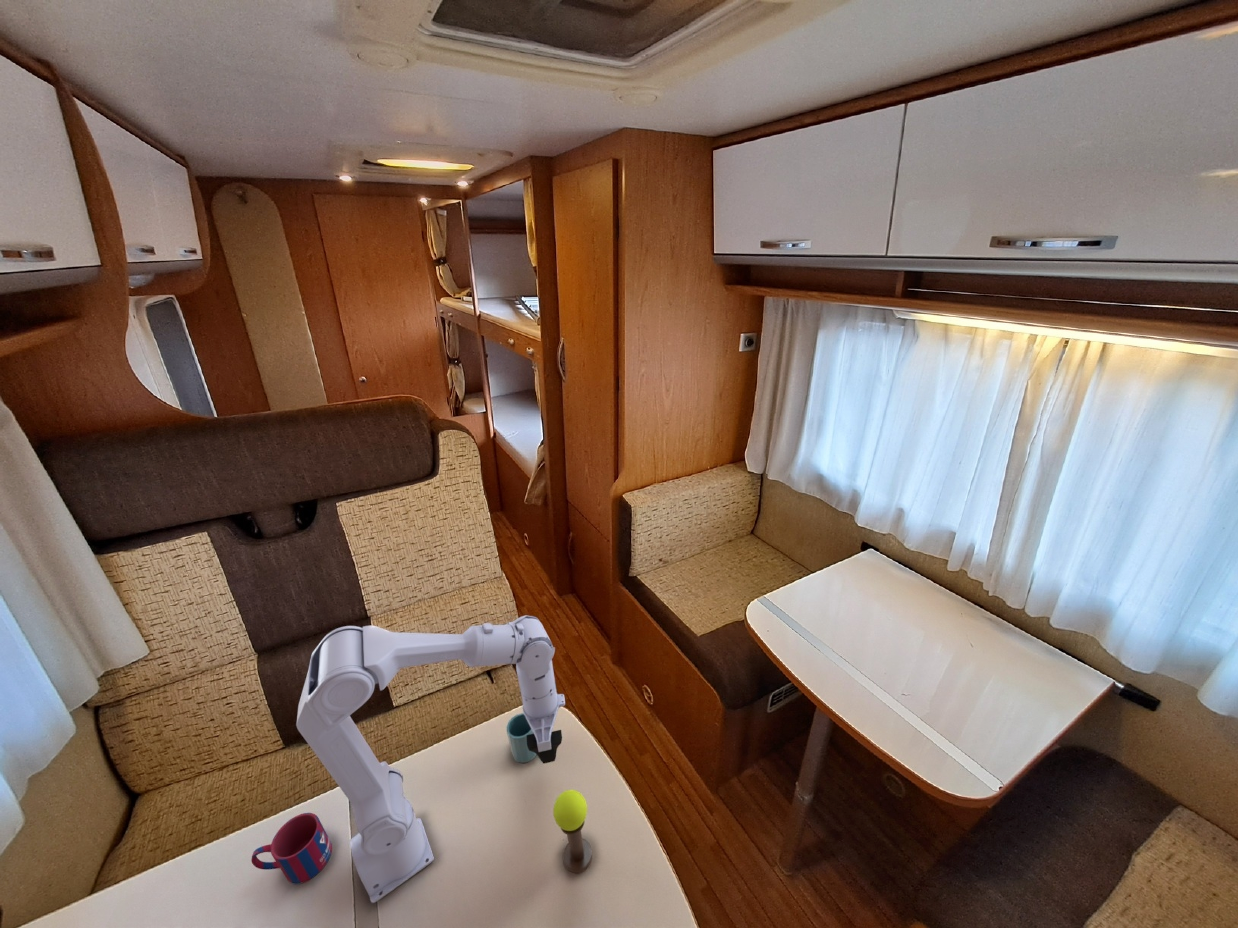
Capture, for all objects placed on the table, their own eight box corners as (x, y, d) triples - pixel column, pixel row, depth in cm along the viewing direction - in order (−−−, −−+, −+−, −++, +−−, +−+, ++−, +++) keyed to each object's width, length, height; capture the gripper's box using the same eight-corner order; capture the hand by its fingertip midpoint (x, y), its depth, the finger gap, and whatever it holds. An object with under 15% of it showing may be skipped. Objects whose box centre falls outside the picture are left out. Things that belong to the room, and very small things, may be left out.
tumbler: (519, 768, 91) (513, 743, 88) (507, 747, 95) (502, 723, 92) (543, 751, 94) (539, 727, 91) (531, 732, 98) (526, 708, 95)
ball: (566, 846, 70) (562, 825, 68) (549, 816, 74) (545, 796, 72) (594, 822, 73) (592, 802, 71) (577, 795, 77) (574, 775, 74)
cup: (324, 877, 77) (310, 853, 74) (255, 894, 75) (238, 870, 72) (337, 832, 83) (325, 807, 80) (274, 847, 81) (259, 822, 78)
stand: (573, 880, 75) (566, 843, 70) (558, 853, 78) (551, 816, 74) (597, 859, 77) (592, 822, 73) (582, 833, 80) (576, 797, 76)
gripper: (566, 717, 74) (574, 774, 79) (557, 647, 86) (565, 700, 92) (519, 727, 72) (531, 784, 78) (517, 654, 85) (528, 708, 91)
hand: (547, 739), depth 85 cm, fingers open, 7 cm apart
